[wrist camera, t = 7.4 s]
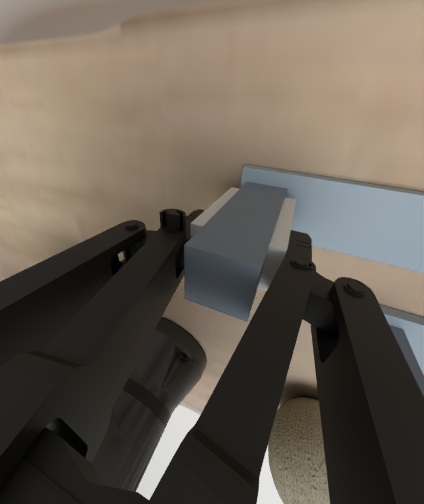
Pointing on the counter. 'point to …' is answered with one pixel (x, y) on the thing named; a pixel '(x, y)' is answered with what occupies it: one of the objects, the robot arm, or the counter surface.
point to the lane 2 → (409, 339)
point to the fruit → (299, 453)
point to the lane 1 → (304, 220)
